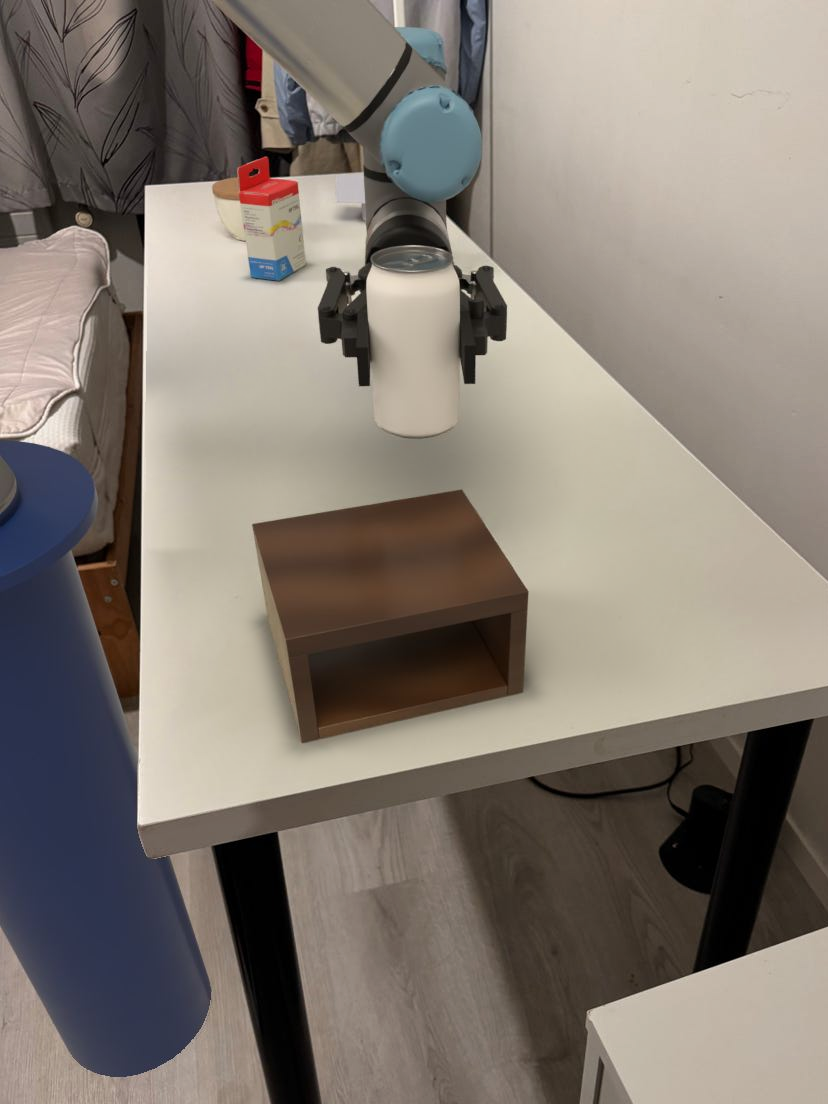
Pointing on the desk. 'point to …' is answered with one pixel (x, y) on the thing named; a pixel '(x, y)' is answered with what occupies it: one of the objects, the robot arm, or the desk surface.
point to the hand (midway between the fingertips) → (416, 365)
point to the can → (414, 340)
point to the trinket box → (229, 206)
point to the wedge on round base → (351, 190)
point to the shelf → (390, 612)
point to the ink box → (270, 222)
